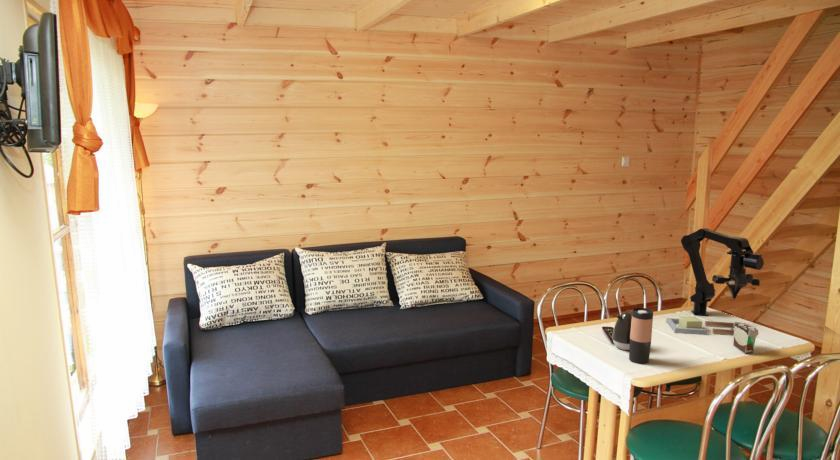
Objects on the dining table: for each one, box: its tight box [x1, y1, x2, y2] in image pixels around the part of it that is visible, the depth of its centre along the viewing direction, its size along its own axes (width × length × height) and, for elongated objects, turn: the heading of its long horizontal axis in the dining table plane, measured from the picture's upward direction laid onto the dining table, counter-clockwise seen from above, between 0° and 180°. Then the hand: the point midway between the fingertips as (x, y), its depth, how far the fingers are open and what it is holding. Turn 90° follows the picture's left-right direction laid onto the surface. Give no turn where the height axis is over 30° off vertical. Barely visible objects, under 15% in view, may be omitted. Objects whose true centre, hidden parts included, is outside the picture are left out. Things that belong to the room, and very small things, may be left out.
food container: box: [732, 321, 759, 355], centre depth 238 cm, size 12×6×10 cm, turn 179°
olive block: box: [677, 315, 703, 329], centre depth 263 cm, size 7×7×5 cm
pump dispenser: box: [611, 311, 632, 351], centre depth 238 cm, size 10×10×15 cm
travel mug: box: [628, 307, 654, 365], centre depth 225 cm, size 8×8×20 cm
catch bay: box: [665, 317, 709, 336], centre depth 265 cm, size 15×14×2 cm
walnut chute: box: [704, 320, 734, 336], centre depth 262 cm, size 12×16×2 cm
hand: (733, 298), depth 270 cm, fingers closed
